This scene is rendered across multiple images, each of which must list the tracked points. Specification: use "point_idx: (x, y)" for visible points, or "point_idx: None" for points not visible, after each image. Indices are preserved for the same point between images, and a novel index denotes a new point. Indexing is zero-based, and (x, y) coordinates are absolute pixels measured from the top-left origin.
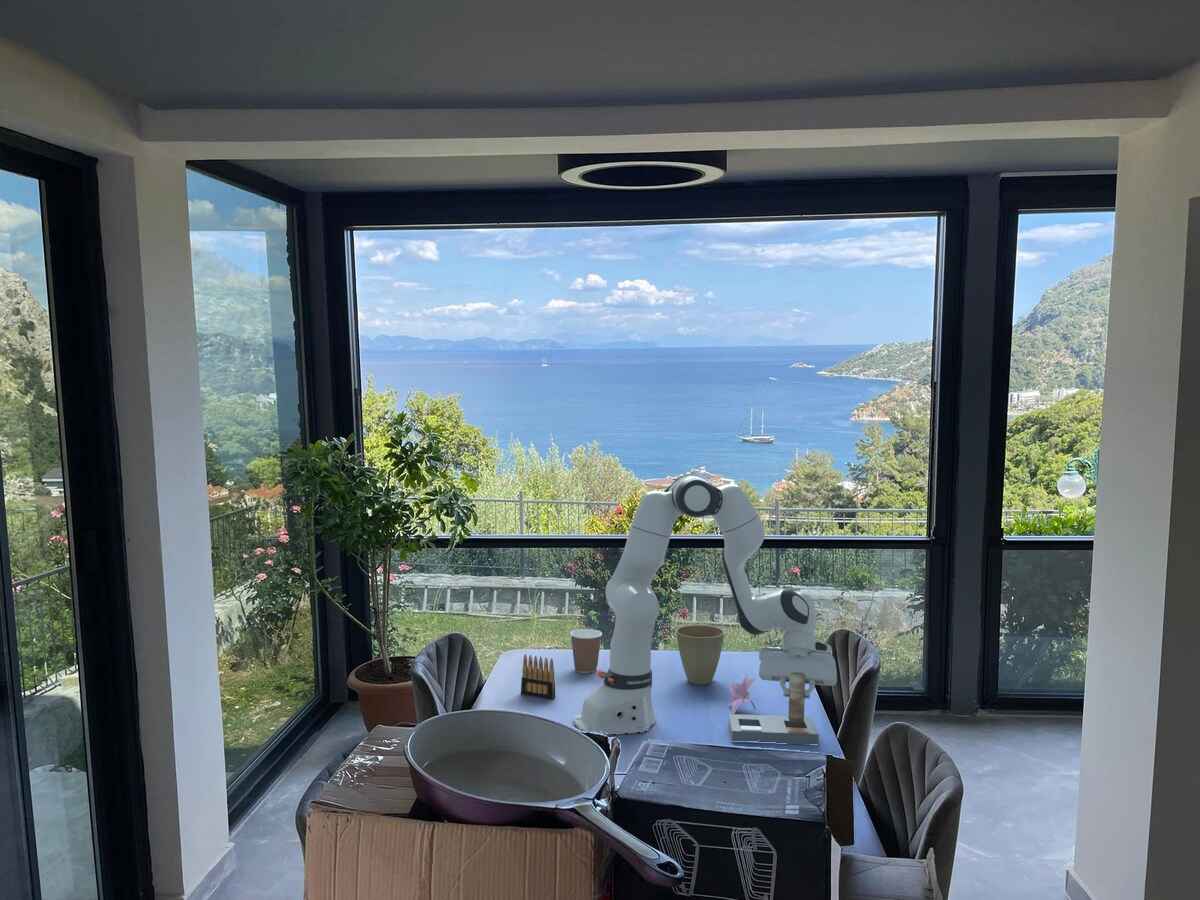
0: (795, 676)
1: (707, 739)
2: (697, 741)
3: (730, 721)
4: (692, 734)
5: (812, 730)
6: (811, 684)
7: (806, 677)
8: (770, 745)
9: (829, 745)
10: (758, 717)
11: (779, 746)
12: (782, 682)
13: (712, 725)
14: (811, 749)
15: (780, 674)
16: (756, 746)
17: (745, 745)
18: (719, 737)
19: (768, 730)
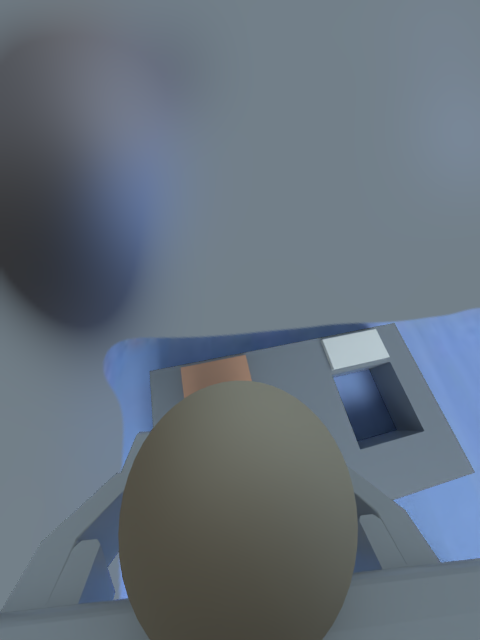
0: (260, 409)
1: (430, 336)
2: (442, 318)
3: (432, 395)
4: (476, 355)
5: (168, 400)
6: (83, 529)
7: (106, 606)
8: (284, 343)
9: (125, 391)
10: (369, 474)
11: (262, 343)
12: (372, 498)
13: (474, 442)
14: (180, 347)
15: (473, 577)
16: (314, 327)
17: (339, 326)
18: (413, 356)
19: (305, 355)
